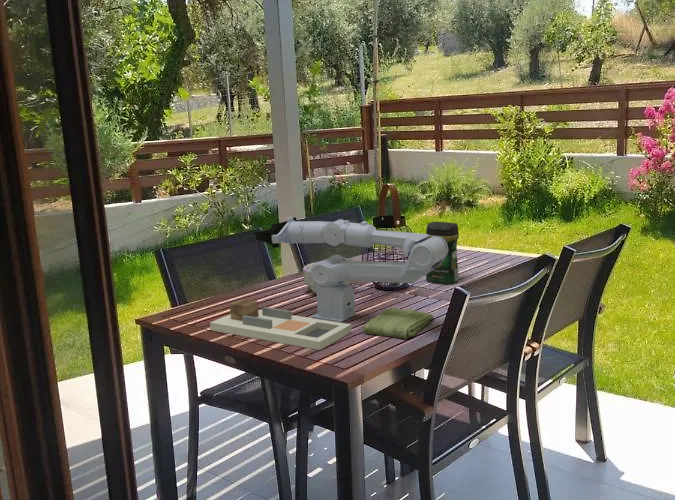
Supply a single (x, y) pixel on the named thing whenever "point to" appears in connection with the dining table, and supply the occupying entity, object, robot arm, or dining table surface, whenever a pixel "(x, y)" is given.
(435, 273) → the coffee jar
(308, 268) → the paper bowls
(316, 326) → the board
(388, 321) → the washcloth
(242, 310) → the walnut block
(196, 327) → the dining table surface
